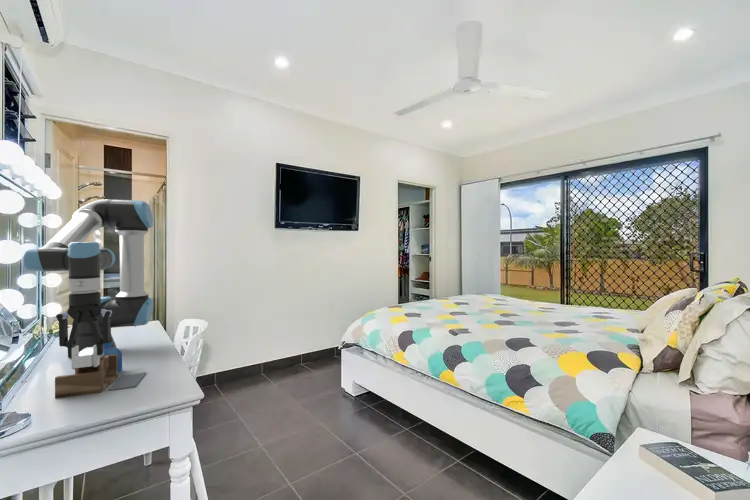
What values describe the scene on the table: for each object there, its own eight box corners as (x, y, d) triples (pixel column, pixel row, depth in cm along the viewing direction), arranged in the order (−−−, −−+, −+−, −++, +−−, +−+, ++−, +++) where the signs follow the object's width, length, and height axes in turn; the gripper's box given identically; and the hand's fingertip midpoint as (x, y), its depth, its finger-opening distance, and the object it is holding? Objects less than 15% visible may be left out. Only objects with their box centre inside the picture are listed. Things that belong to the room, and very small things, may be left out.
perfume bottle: (105, 377, 116) (104, 341, 116) (90, 375, 117) (90, 340, 117) (122, 370, 122) (121, 337, 122) (107, 369, 123) (107, 336, 123)
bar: (86, 358, 112) (86, 347, 111) (103, 356, 113) (103, 345, 113) (72, 368, 102) (72, 356, 102) (91, 366, 104) (91, 354, 104)
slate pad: (122, 376, 116) (122, 375, 116) (146, 373, 119) (146, 372, 119) (108, 390, 104) (108, 389, 104) (135, 387, 107) (135, 386, 107)
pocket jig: (77, 380, 112) (77, 358, 112) (117, 376, 116) (117, 354, 116) (55, 398, 99) (54, 372, 99) (101, 392, 103) (101, 367, 103)
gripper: (41, 295, 99) (43, 375, 99) (115, 291, 105) (116, 367, 106) (54, 291, 106) (56, 366, 106) (123, 288, 112) (124, 359, 113)
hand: (86, 366), depth 106 cm, fingers closed on bar, 5 cm apart
